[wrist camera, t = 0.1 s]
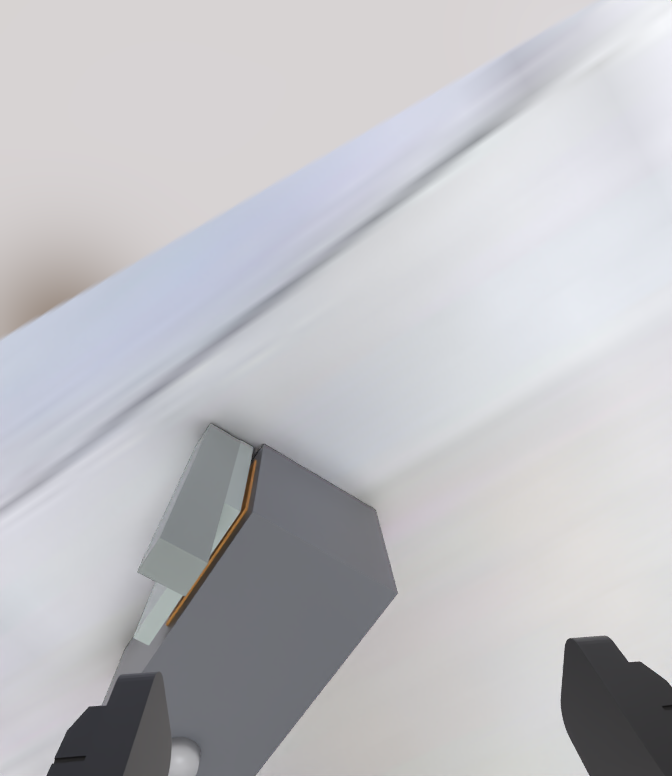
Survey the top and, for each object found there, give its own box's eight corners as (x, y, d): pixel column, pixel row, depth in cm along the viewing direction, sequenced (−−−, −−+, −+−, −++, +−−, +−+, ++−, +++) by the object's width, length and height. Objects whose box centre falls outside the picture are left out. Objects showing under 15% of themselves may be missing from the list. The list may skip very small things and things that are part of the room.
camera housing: (261, 442, 41) (249, 519, 30) (375, 510, 43) (400, 604, 32) (110, 667, 45) (52, 804, 34) (219, 719, 47) (196, 863, 36)
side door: (211, 422, 40) (159, 537, 25) (253, 447, 41) (227, 573, 26) (138, 533, 42) (52, 700, 27) (180, 555, 42) (118, 730, 28)
